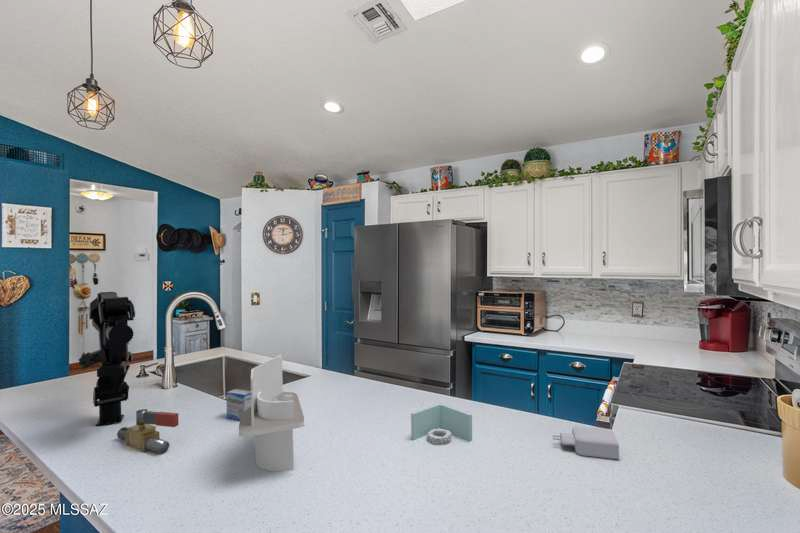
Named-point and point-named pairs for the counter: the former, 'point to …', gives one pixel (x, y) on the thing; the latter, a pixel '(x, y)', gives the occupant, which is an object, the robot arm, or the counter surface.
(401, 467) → the counter surface
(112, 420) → the robot arm
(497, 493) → the counter surface
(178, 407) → the counter surface
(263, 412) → the architectural model
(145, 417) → the lever
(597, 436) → the charger
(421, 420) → the l-shaped corner panel
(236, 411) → the medicine box
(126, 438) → the valve
